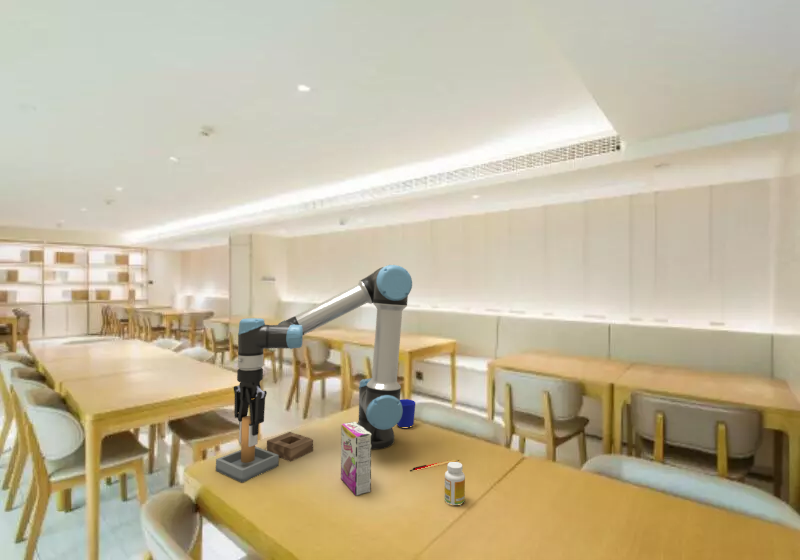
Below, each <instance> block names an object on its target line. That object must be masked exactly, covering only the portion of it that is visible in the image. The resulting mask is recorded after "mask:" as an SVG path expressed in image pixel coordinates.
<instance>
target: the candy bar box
mask: <svg viewBox="0 0 800 560" xmlns="http://www.w3.org/2000/svg"><path fill="white" fill-rule="evenodd" d="M340 435H341V439H340V440H341V441H340V445H341V446H340V447H341V449H340V450H341V451H340V479H341V481H342V482H343V483H344V484H345V485H346V486H347V488H349V489H350V491H351V492H352V493H353V495H354V496H355V497H358V496H361V495H363V494H368V493H370V492H372V490H371V489H372V488H371V487H372V449H371V436H372V434H371V433H370V432H368V431H367V430H366V429H365V428H363V427H362V426H361V425H359V424H358V422H357V421H351V422H345V423H341V432H340Z"/></svg>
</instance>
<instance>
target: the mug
mask: <svg viewBox="0 0 800 560" xmlns="http://www.w3.org/2000/svg"><path fill="white" fill-rule="evenodd" d="M400 402H401V404H402V409H403V413H402V417H401V419H400V421H399V422H398V423H397V424H396V425H397V427H398V426H399V427H398V428H400V427H410V426H412V425H413V426H414V421H415V413H416V412H415V410H416V401H415V400H412V399H408V398H405V399H400ZM413 426H412V427H413Z"/></svg>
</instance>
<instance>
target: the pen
mask: <svg viewBox="0 0 800 560" xmlns="http://www.w3.org/2000/svg"><path fill="white" fill-rule="evenodd" d="M437 463H438V462H436V463H431V464H423V465H419V466H415V467H413V468H412V469H409V472H413V471H412V470H417V469H421V468H425V467H428V466H431V465H434V464H437ZM425 469H426V468H425ZM421 470H422V469H421ZM417 471H418V470H417Z"/></svg>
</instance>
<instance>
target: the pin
mask: <svg viewBox="0 0 800 560" xmlns="http://www.w3.org/2000/svg"><path fill="white" fill-rule="evenodd" d="M249 424H251V419H250V415H247V416H245V417H243V418H242V438H241V443H240V444H241V445H240V450H241V462H243V463H249V462H252V461H254V460H255V446H256V445H254V446H251V447H249V446H248V442H249Z"/></svg>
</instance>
